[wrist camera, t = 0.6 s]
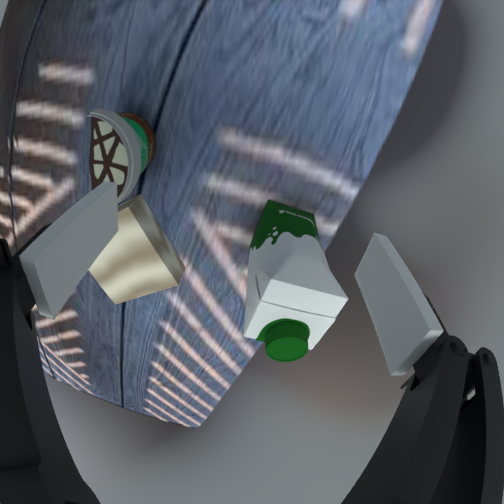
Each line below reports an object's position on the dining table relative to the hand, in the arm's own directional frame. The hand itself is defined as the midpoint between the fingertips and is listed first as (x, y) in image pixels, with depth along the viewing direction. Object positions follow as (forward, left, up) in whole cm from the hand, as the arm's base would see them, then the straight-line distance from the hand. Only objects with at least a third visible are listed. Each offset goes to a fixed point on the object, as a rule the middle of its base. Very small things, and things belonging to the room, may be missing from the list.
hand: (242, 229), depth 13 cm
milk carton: (+13, -1, -24) cm, 28 cm away
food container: (-6, -14, -24) cm, 28 cm away
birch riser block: (+7, -25, -24) cm, 36 cm away
